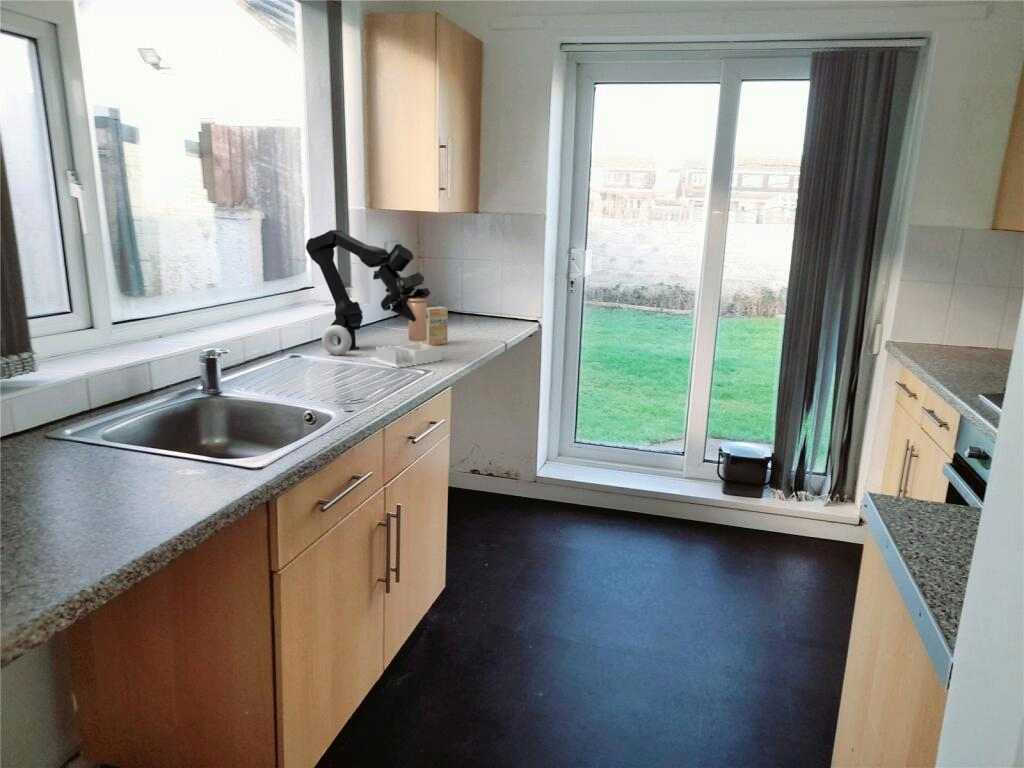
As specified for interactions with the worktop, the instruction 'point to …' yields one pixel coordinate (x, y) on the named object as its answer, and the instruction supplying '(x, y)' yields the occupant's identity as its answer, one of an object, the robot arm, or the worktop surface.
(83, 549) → the worktop surface
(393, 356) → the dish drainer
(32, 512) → the worktop surface
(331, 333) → the donut
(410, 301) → the tumbler
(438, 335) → the supplement box
